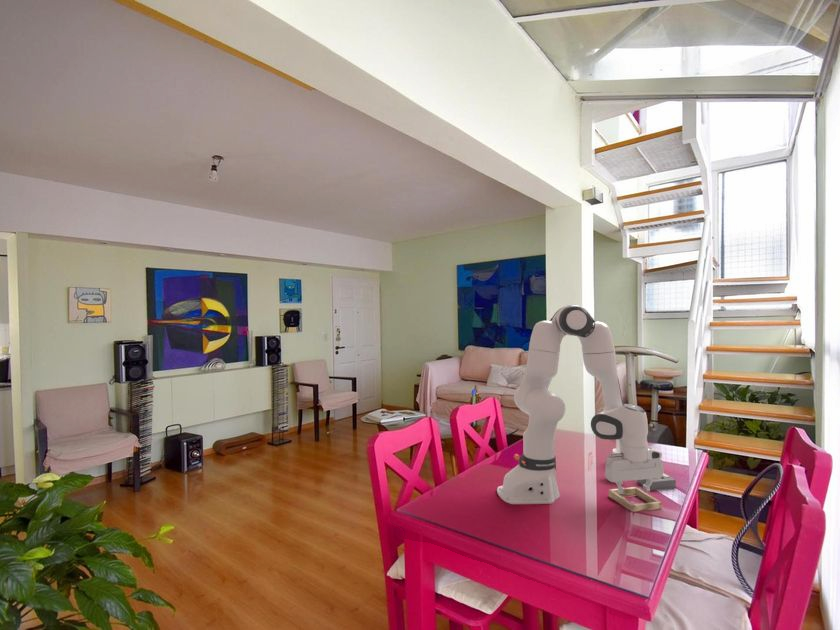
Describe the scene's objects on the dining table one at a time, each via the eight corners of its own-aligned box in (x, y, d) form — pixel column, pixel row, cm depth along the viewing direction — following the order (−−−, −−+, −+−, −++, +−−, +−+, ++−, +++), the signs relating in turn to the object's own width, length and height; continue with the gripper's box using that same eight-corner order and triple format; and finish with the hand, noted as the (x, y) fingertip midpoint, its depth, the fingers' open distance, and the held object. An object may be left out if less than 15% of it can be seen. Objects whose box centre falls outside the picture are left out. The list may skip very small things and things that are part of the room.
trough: (632, 514, 141) (632, 505, 141) (608, 497, 154) (608, 489, 154) (662, 511, 143) (662, 502, 143) (636, 495, 156) (636, 486, 156)
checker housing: (651, 491, 159) (651, 481, 159) (637, 482, 167) (637, 473, 167) (675, 488, 161) (675, 478, 161) (660, 480, 168) (660, 470, 168)
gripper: (612, 457, 144) (612, 498, 144) (666, 452, 147) (666, 493, 147) (600, 451, 150) (601, 490, 150) (653, 447, 153) (653, 485, 154)
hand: (634, 491), depth 149 cm, fingers open, 8 cm apart
